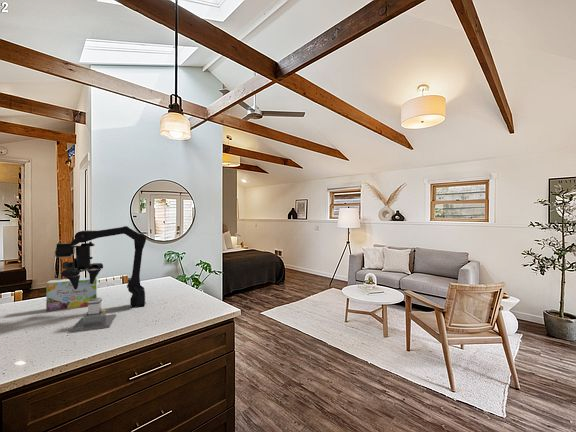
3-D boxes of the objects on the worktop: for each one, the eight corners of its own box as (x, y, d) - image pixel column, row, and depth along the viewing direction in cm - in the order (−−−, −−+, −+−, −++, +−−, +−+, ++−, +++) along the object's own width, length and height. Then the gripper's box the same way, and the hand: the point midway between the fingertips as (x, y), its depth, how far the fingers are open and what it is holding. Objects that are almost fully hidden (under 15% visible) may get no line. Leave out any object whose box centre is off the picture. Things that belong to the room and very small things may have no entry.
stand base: (116, 316, 129) (116, 304, 129) (109, 327, 116) (109, 314, 116) (81, 320, 124) (81, 307, 124) (70, 332, 111) (70, 319, 111)
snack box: (45, 312, 134) (45, 282, 134) (49, 308, 139) (49, 280, 139) (96, 305, 144) (96, 278, 143) (98, 302, 149) (98, 276, 148)
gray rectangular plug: (102, 318, 123) (102, 297, 123) (99, 322, 119) (99, 300, 119) (90, 320, 121) (90, 298, 121) (87, 323, 117) (87, 301, 117)
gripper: (84, 252, 142) (85, 281, 142) (50, 258, 123) (51, 291, 124) (103, 252, 141) (104, 281, 141) (71, 259, 122) (72, 292, 123)
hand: (83, 286), depth 132 cm, fingers open, 9 cm apart
